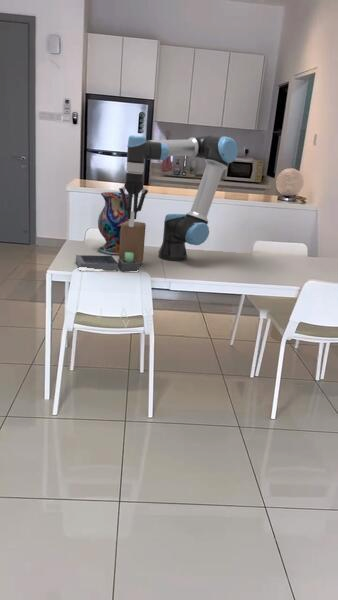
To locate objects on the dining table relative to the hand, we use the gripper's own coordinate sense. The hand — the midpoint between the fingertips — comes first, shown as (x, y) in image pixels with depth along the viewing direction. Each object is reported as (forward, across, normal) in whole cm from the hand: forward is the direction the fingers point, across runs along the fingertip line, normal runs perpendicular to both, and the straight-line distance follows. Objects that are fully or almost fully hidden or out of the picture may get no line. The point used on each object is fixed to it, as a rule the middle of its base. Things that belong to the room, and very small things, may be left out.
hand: (131, 226), depth 219 cm
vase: (+21, -1, -36) cm, 41 cm away
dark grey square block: (+20, 0, 0) cm, 20 cm away
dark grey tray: (+20, +14, -5) cm, 25 cm away
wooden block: (+21, -4, -11) cm, 24 cm away
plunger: (+17, 0, 0) cm, 17 cm away
